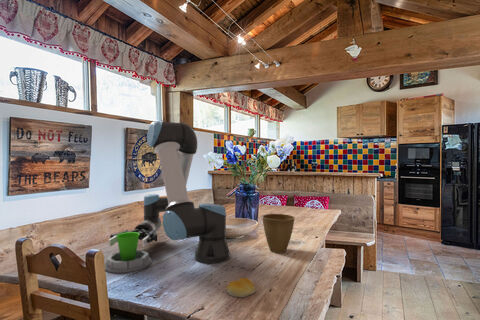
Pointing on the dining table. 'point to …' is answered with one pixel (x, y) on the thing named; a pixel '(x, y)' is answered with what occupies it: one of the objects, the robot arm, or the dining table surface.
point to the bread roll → (241, 287)
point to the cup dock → (127, 263)
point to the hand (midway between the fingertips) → (126, 243)
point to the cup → (128, 245)
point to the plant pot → (278, 231)
